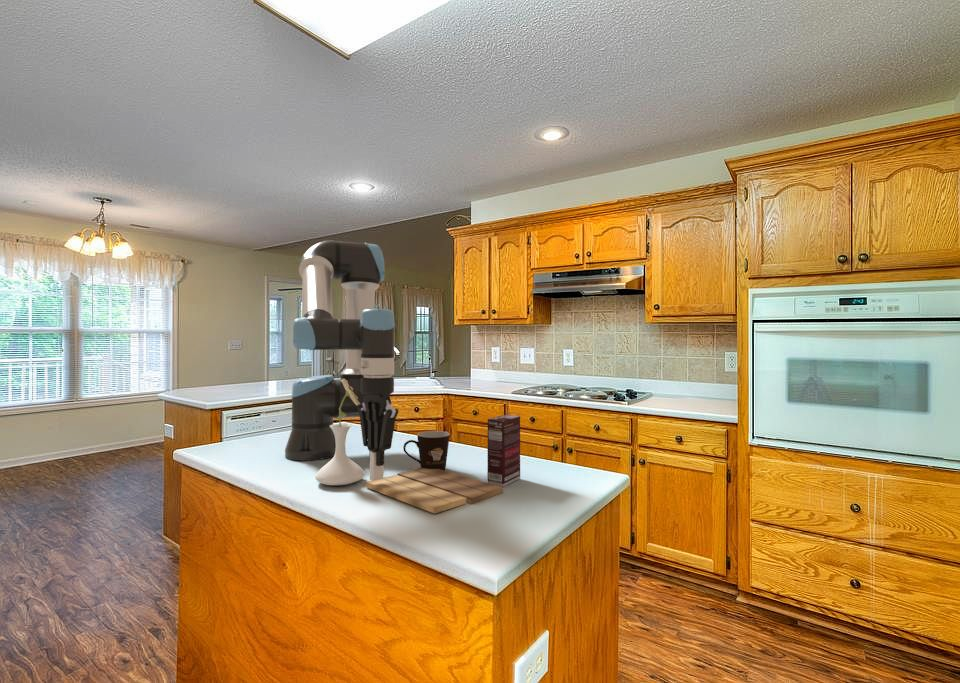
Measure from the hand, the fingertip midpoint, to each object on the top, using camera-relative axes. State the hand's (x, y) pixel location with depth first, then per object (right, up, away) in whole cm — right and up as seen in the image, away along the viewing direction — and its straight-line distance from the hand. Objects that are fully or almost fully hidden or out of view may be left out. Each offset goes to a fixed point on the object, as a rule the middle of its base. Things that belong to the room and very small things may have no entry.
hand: (376, 478), depth 108 cm
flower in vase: (-10, -3, +7) cm, 12 cm away
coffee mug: (+10, -3, +17) cm, 20 cm away
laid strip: (+16, -3, +4) cm, 17 cm away
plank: (+9, -3, -3) cm, 10 cm away
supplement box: (+30, -3, +8) cm, 31 cm away
